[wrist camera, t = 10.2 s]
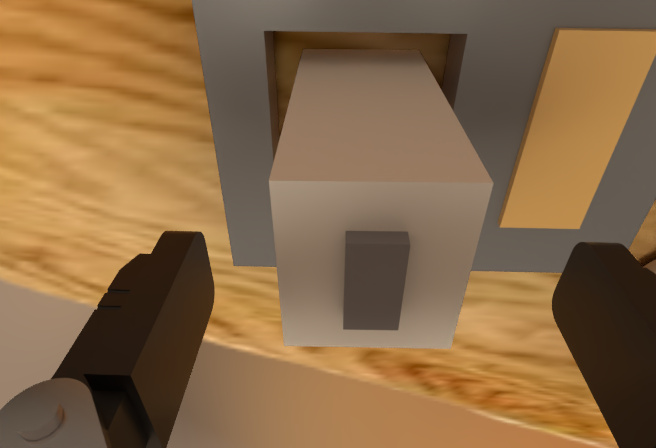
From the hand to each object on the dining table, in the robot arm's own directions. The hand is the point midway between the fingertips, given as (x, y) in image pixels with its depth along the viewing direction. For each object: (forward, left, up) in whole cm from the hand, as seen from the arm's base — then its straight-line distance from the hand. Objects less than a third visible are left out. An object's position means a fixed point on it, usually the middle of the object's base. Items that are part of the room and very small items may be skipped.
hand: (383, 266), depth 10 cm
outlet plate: (-3, 0, -8) cm, 9 cm away
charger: (0, 0, -8) cm, 8 cm away
